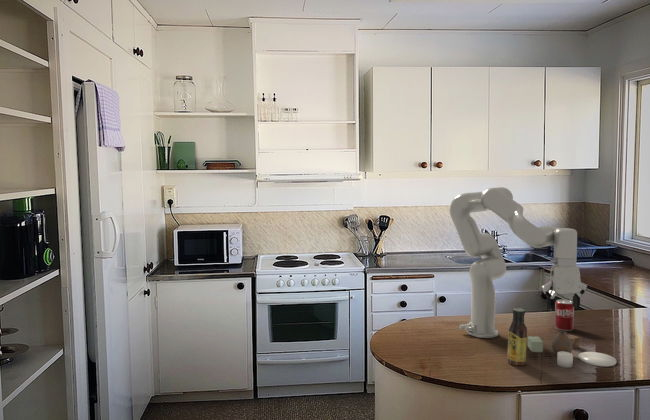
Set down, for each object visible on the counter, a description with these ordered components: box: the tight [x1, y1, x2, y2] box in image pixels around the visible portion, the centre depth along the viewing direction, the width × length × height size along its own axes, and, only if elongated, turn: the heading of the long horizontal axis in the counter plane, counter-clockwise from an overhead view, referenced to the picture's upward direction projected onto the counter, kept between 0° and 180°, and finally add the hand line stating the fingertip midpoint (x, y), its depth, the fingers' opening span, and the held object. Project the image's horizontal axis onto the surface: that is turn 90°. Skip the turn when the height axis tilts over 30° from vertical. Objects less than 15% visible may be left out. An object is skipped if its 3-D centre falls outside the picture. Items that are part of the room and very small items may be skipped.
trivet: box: [578, 351, 617, 368], centre depth 184 cm, size 12×12×1 cm
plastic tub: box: [556, 351, 574, 369], centre depth 180 cm, size 5×5×4 cm
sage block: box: [527, 335, 544, 353], centre depth 195 cm, size 4×6×4 cm, turn 172°
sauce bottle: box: [506, 307, 528, 366], centre depth 181 cm, size 7×6×20 cm
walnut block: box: [567, 334, 580, 350], centre depth 197 cm, size 4×4×4 cm
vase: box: [551, 331, 573, 357], centre depth 188 cm, size 7×7×9 cm
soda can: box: [554, 299, 575, 332], centre depth 218 cm, size 7×7×12 cm
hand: (563, 308), depth 186 cm, fingers open, 9 cm apart
